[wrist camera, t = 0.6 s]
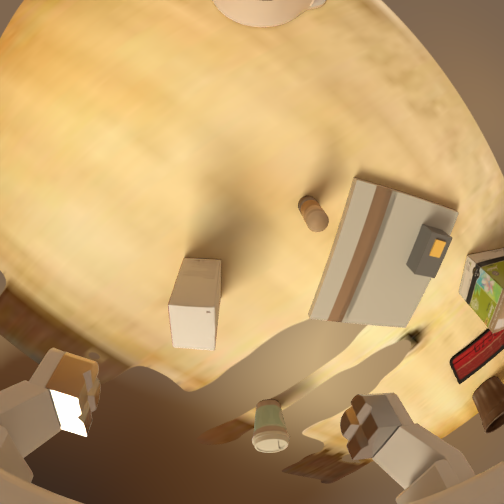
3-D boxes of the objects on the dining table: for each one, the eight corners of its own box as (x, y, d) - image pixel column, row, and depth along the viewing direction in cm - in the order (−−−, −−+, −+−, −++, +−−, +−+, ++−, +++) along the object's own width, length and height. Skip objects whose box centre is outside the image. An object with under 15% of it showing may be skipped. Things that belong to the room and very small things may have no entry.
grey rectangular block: (422, 223, 47) (433, 232, 43) (442, 229, 47) (453, 238, 44) (405, 264, 50) (415, 275, 47) (425, 268, 51) (435, 278, 47)
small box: (183, 256, 50) (167, 303, 38) (221, 258, 50) (215, 306, 39) (185, 297, 54) (172, 348, 42) (220, 299, 54) (216, 351, 42)
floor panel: (353, 177, 45) (357, 179, 43) (454, 209, 47) (458, 212, 46) (308, 313, 56) (309, 318, 55) (402, 323, 58) (405, 327, 57)
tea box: (456, 294, 56) (492, 335, 43) (466, 253, 51) (508, 292, 38) (499, 282, 55) (534, 317, 42) (509, 245, 51) (549, 277, 38)
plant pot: (467, 389, 75) (486, 424, 61) (503, 364, 72) (524, 396, 57) (467, 407, 82) (482, 439, 67) (499, 385, 78) (517, 414, 64)
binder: (510, 344, 64) (459, 385, 70) (506, 339, 66) (456, 380, 72) (506, 315, 59) (449, 362, 65) (502, 310, 61) (446, 357, 67)
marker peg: (300, 194, 46) (310, 208, 39) (319, 198, 46) (331, 213, 40) (296, 212, 47) (304, 229, 41) (314, 216, 47) (325, 233, 41)
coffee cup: (274, 416, 72) (278, 455, 61) (245, 410, 70) (245, 450, 59) (291, 399, 68) (297, 440, 57) (260, 392, 66) (263, 435, 56)
